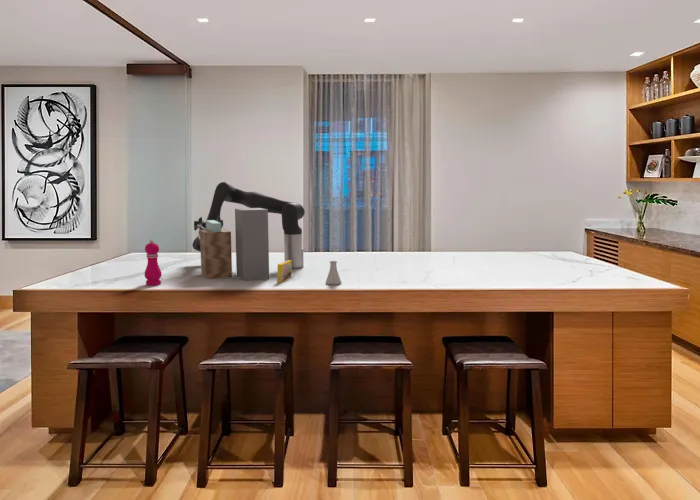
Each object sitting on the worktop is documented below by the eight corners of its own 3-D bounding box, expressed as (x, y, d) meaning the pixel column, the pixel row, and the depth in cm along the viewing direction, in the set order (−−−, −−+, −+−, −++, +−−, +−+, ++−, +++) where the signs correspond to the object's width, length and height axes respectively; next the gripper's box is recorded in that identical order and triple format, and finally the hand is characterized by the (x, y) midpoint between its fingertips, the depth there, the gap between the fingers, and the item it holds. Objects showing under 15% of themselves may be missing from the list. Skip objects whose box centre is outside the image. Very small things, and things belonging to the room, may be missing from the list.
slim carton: (214, 228, 325) (213, 220, 325) (221, 231, 305) (221, 223, 304) (205, 228, 324) (205, 220, 324) (212, 232, 304) (212, 223, 303)
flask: (324, 282, 291) (324, 260, 290) (341, 282, 292) (341, 260, 291) (325, 285, 284) (325, 262, 283) (342, 285, 284) (342, 262, 283)
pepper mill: (165, 283, 291) (163, 238, 289) (155, 286, 284) (153, 240, 282) (151, 282, 293) (149, 238, 291) (141, 285, 286) (139, 239, 284)
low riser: (226, 272, 322) (224, 229, 320) (232, 277, 307) (230, 231, 305) (201, 274, 318) (199, 229, 315) (206, 278, 303) (204, 232, 301)
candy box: (281, 283, 291) (281, 264, 290) (277, 282, 292) (276, 264, 291) (292, 277, 307) (291, 259, 306) (287, 277, 308) (287, 259, 307)
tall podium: (261, 274, 317) (259, 207, 313) (269, 278, 302) (267, 209, 298) (236, 275, 313) (234, 208, 309) (243, 280, 298) (241, 210, 294)
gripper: (191, 226, 335) (194, 212, 321) (219, 225, 340) (223, 211, 326) (192, 239, 332) (196, 225, 319) (220, 238, 338) (225, 224, 324)
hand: (210, 218), depth 322 cm, fingers open, 8 cm apart
